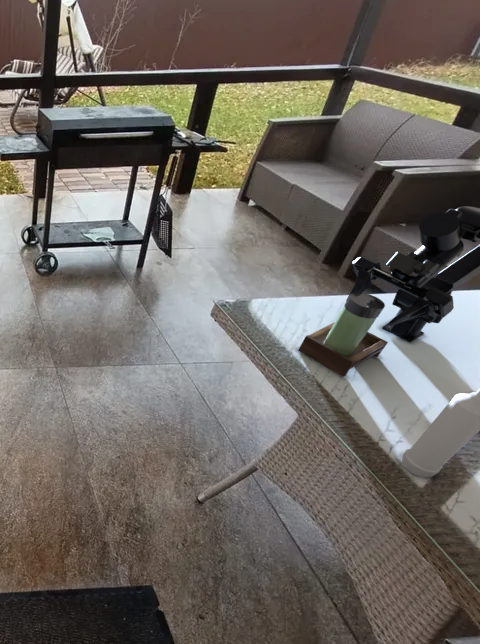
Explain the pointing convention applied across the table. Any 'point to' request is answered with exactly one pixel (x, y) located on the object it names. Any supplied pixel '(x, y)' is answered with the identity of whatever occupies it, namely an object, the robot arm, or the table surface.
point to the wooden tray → (332, 358)
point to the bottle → (445, 435)
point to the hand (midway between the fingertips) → (367, 313)
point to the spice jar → (353, 322)
